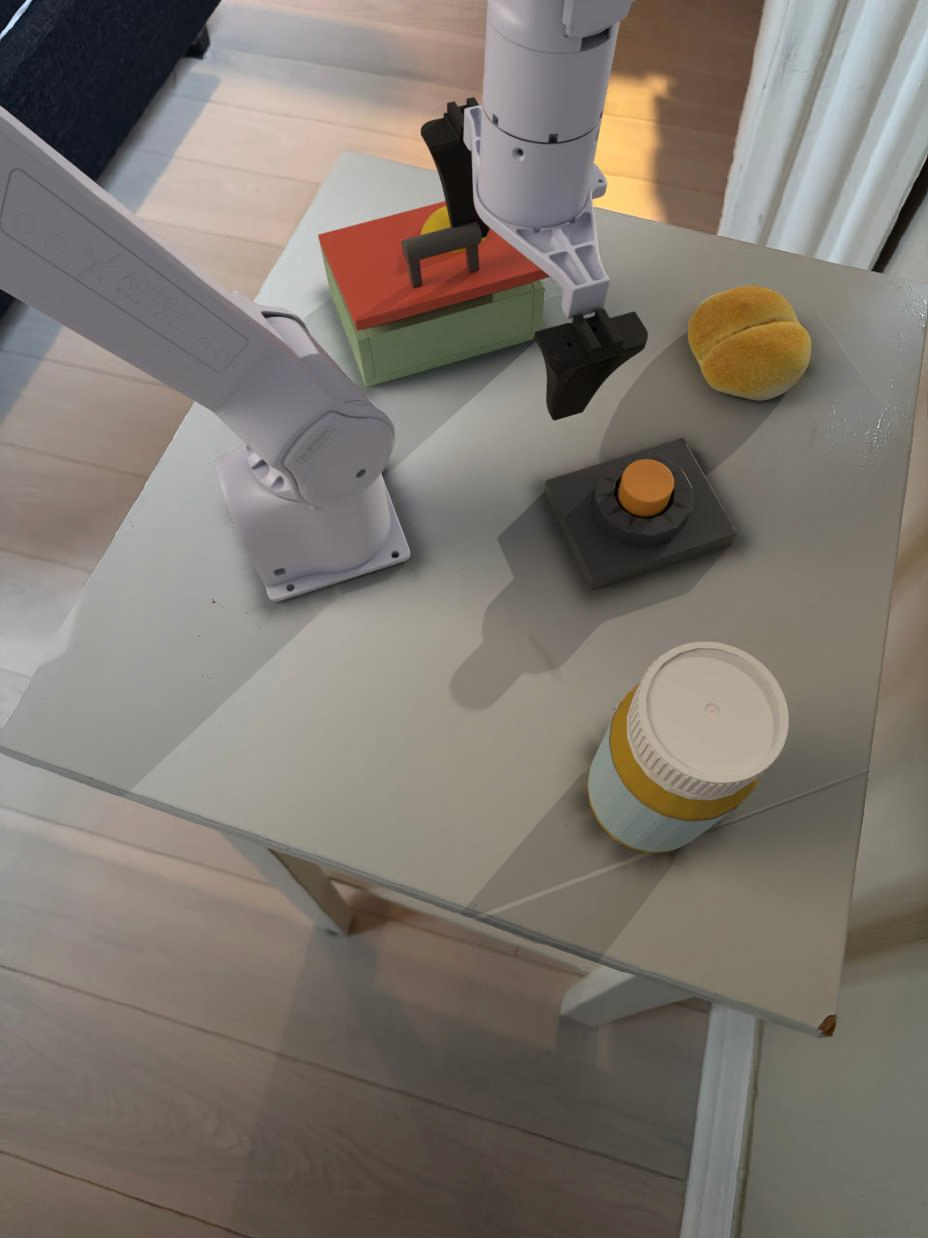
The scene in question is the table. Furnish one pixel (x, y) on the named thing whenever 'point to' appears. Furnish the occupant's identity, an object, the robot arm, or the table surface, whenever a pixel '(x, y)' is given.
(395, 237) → the lid
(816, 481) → the table surface
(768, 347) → the bread roll
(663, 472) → the button
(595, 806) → the bottle
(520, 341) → the box
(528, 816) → the table surface
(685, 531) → the push button box
